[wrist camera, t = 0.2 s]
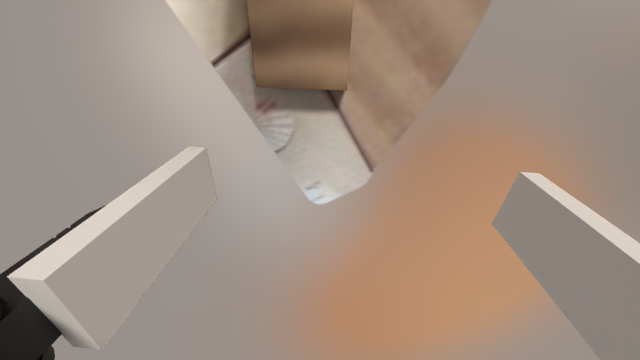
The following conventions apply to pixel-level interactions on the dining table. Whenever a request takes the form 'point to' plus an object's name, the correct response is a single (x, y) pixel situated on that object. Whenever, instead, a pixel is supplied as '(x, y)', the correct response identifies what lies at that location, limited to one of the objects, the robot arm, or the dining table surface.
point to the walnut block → (301, 43)
